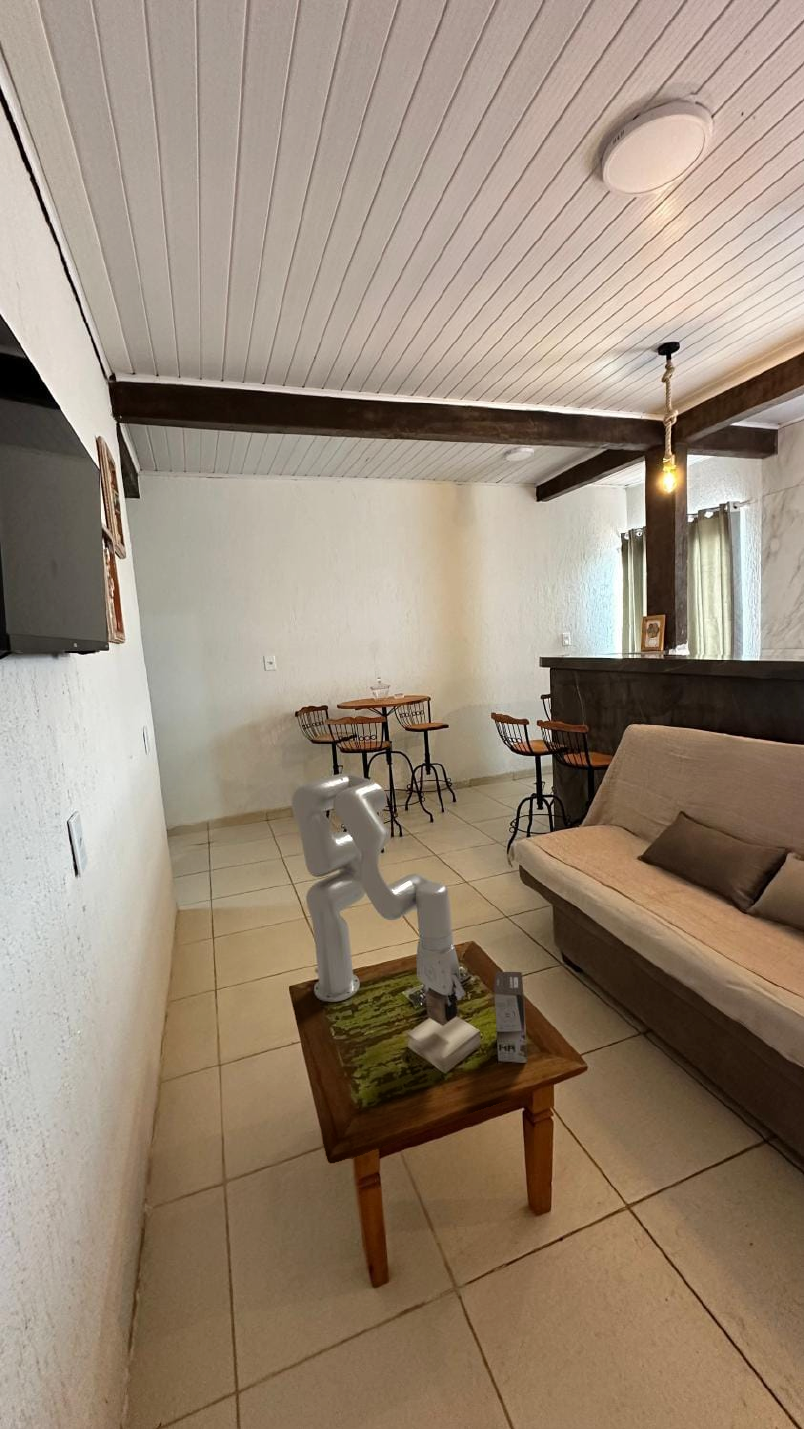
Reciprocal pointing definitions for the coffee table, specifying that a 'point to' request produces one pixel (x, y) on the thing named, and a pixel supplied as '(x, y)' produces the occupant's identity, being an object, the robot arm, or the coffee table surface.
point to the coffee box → (510, 1016)
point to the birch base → (444, 1042)
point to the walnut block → (437, 1006)
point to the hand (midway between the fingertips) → (442, 1011)
